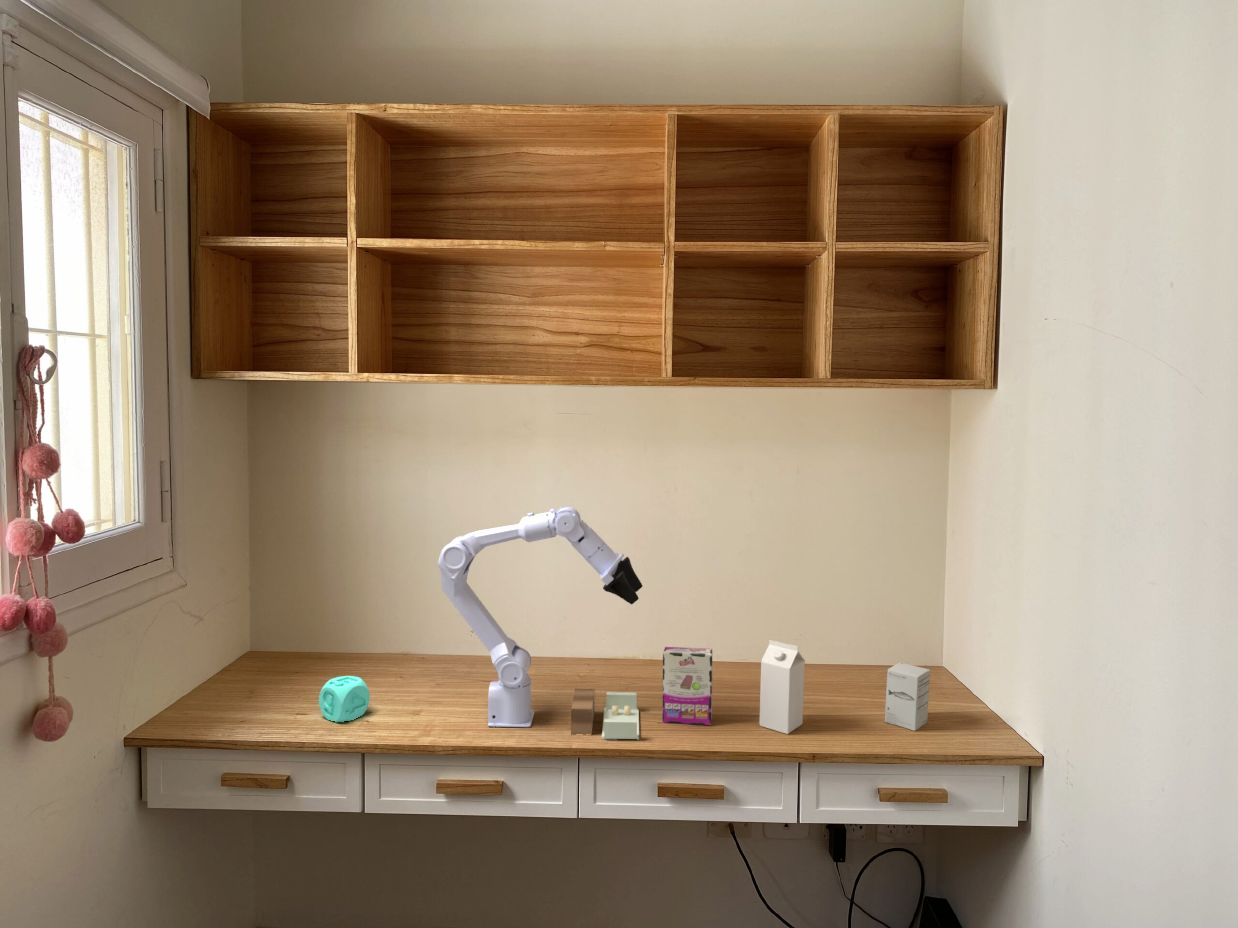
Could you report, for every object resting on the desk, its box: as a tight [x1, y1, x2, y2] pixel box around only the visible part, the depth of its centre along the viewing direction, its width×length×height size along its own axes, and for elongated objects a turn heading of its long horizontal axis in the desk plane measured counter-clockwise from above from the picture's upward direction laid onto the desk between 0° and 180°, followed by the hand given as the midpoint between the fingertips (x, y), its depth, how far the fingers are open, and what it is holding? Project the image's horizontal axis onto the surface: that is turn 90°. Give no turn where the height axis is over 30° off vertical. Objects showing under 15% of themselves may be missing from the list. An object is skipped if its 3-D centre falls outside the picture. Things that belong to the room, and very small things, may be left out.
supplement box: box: [884, 662, 932, 732], centre depth 186 cm, size 7×7×13 cm
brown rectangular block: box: [570, 688, 596, 736], centre depth 184 cm, size 12×4×6 cm, turn 179°
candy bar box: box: [661, 646, 713, 726], centre depth 186 cm, size 11×5×16 cm, turn 82°
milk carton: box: [759, 639, 806, 735], centre depth 183 cm, size 7×7×19 cm
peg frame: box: [601, 691, 640, 741], centre depth 183 cm, size 17×8×4 cm, turn 179°
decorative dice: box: [318, 675, 371, 723], centre depth 186 cm, size 8×8×8 cm
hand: (637, 595), depth 182 cm, fingers open, 7 cm apart
